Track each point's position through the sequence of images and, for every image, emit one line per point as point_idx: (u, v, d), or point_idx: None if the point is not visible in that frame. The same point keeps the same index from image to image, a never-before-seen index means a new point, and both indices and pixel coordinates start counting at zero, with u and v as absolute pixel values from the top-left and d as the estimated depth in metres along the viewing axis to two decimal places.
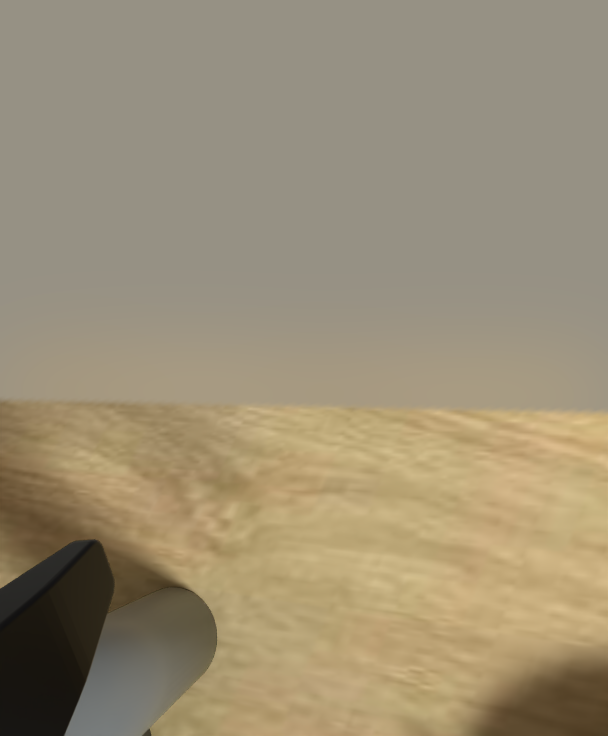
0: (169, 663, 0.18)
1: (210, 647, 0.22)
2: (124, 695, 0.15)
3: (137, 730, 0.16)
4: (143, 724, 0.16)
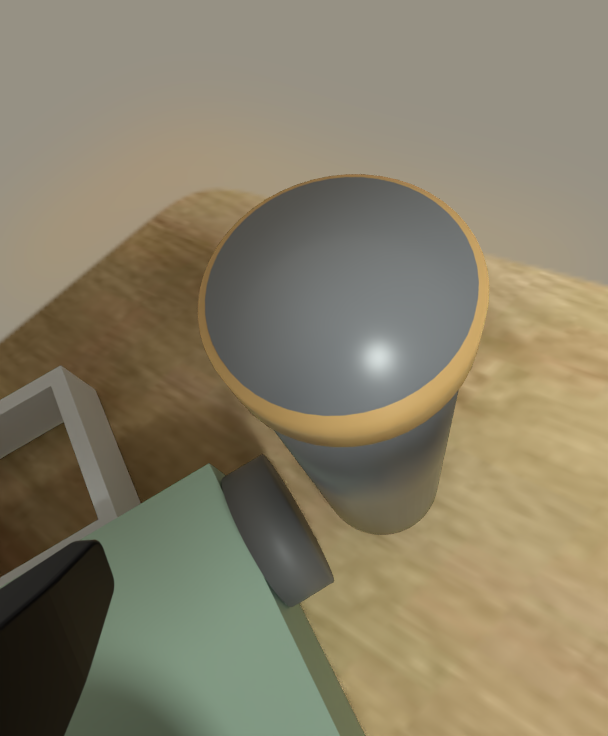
0: None
1: (435, 494, 0.18)
2: None
3: (432, 464, 0.12)
4: (431, 468, 0.12)
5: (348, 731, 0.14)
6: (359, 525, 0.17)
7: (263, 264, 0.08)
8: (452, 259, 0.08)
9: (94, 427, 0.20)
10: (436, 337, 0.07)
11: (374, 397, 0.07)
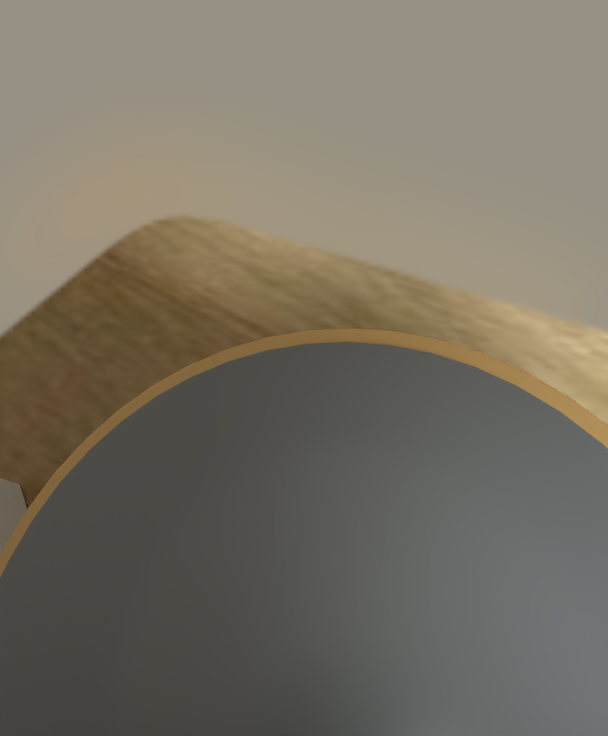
0: None
1: None
2: None
3: None
4: None
5: None
6: None
7: (122, 604, 0.03)
8: None
9: None
10: None
11: None
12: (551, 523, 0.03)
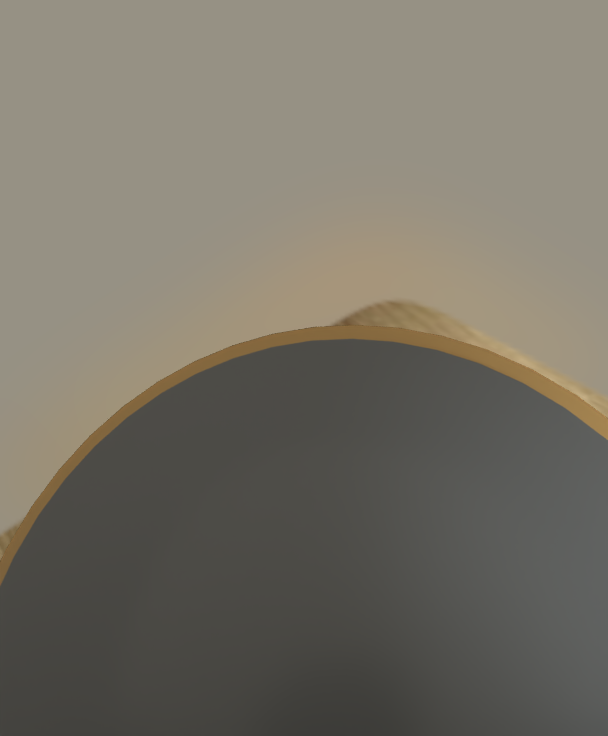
0: None
1: None
2: None
3: None
4: None
5: None
6: None
7: (128, 599, 0.03)
8: None
9: None
10: None
11: None
12: (556, 519, 0.03)
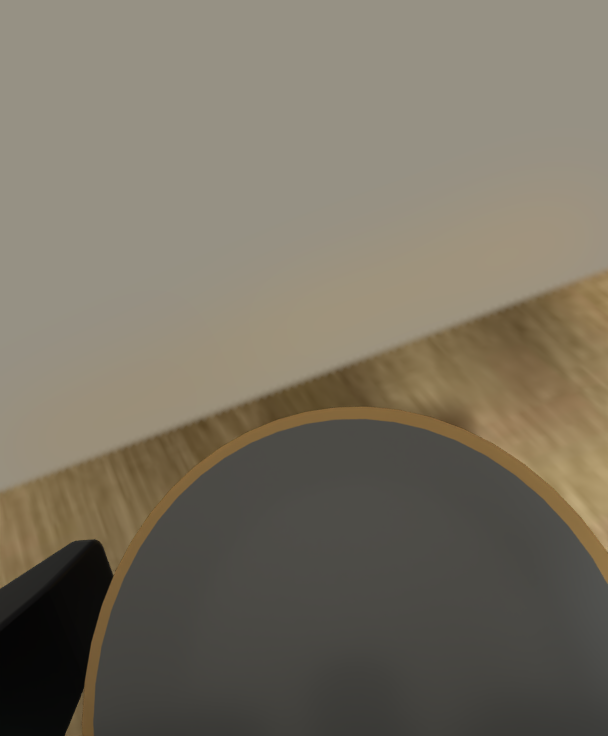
0: None
1: None
2: None
3: None
4: None
5: None
6: None
7: (209, 609, 0.04)
8: (583, 638, 0.04)
9: None
10: None
11: None
12: (506, 554, 0.04)
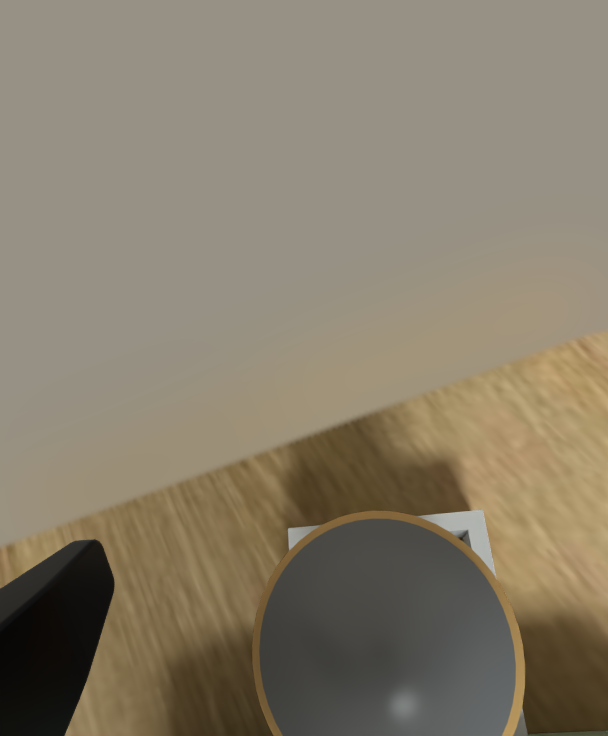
0: None
1: None
2: None
3: None
4: None
5: None
6: None
7: (313, 614, 0.09)
8: (489, 627, 0.09)
9: None
10: (477, 725, 0.08)
11: None
12: (455, 589, 0.09)
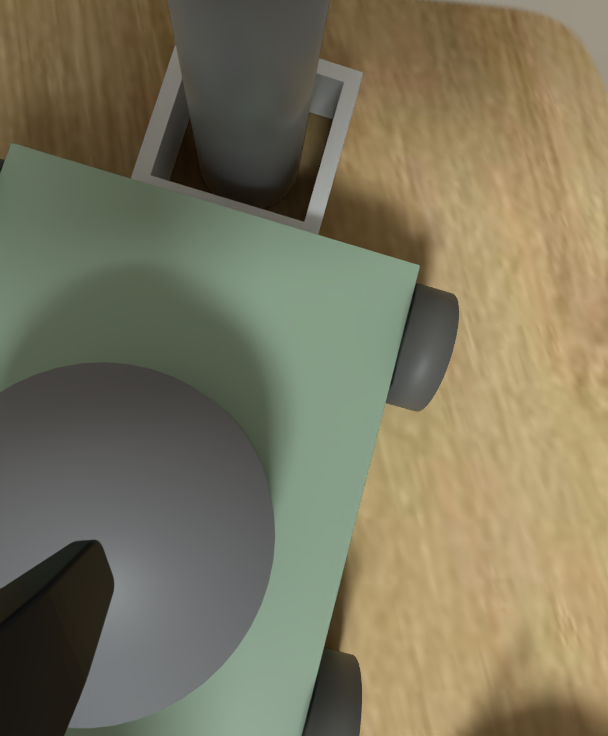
0: (304, 118, 0.17)
1: (285, 188, 0.21)
2: (318, 47, 0.14)
3: (281, 103, 0.15)
4: (280, 111, 0.15)
5: None
6: (215, 181, 0.20)
7: None
8: None
9: None
10: None
11: None
12: None
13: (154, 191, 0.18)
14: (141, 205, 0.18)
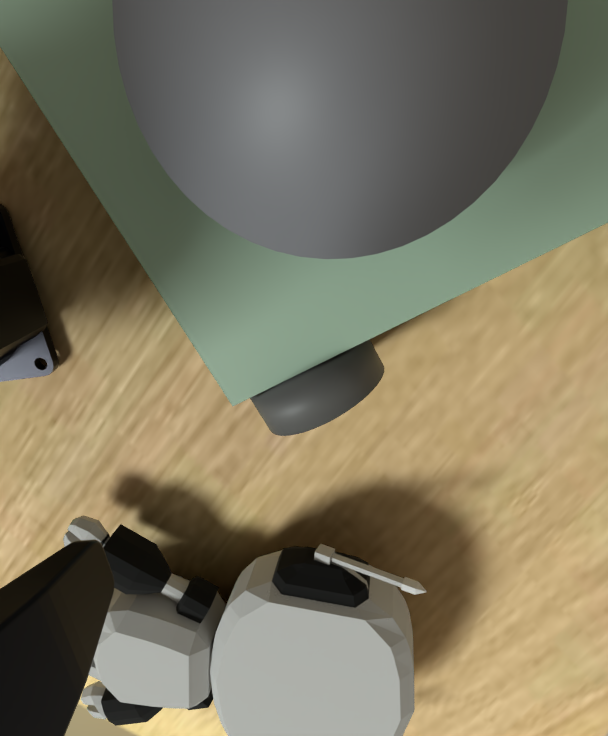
0: None
1: None
2: None
3: None
4: None
5: None
6: None
7: None
8: None
9: None
10: None
11: None
12: None
13: None
14: None
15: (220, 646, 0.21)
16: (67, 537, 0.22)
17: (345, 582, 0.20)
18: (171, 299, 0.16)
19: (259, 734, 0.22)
